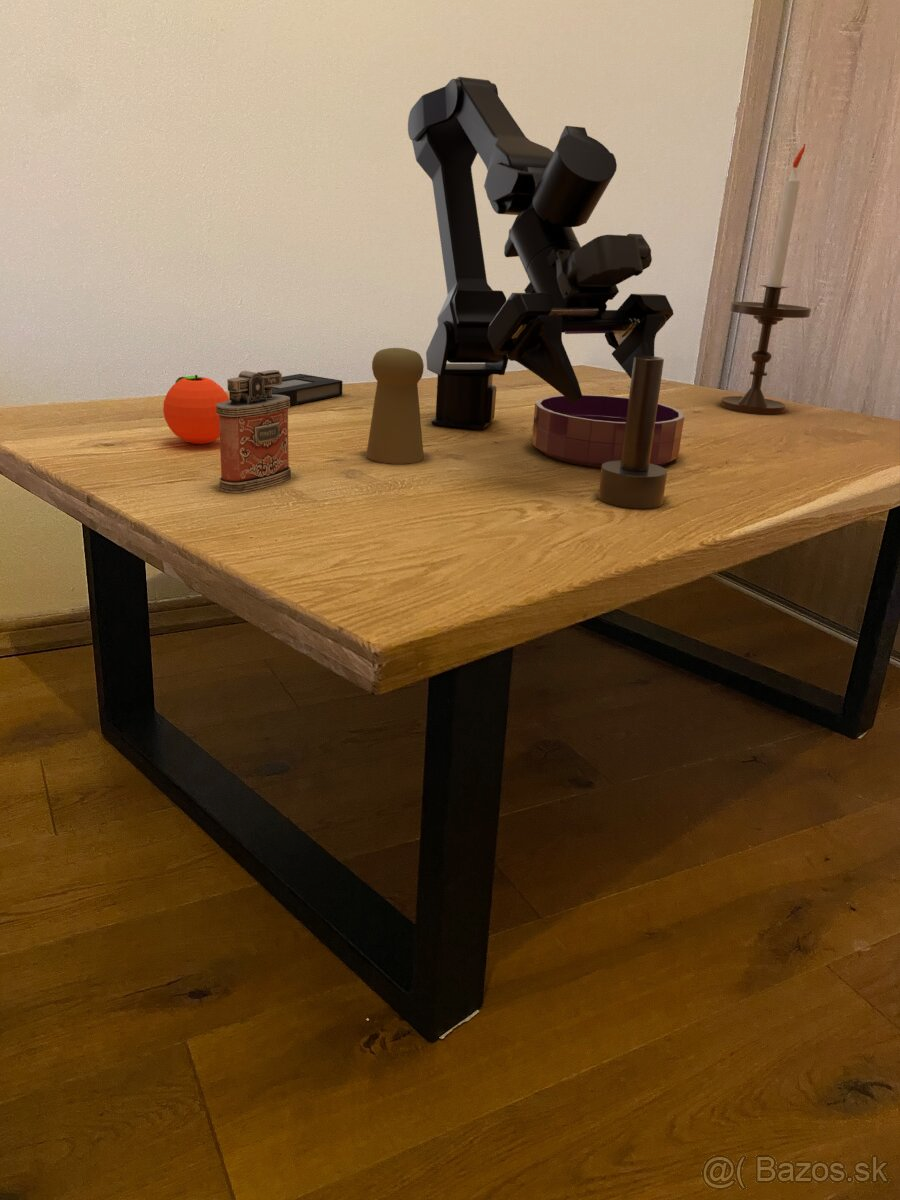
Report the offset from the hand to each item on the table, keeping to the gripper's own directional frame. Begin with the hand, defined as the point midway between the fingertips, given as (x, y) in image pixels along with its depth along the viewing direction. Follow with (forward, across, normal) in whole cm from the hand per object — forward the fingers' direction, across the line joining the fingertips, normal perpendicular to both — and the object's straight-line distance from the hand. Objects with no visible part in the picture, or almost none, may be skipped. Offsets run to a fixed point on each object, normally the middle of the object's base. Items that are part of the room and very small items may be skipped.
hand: (616, 397), depth 86 cm
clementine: (-16, -30, +29) cm, 44 cm away
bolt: (+9, 0, +4) cm, 9 cm away
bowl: (-2, +11, +15) cm, 19 cm away
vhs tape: (-30, -11, +43) cm, 54 cm away
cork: (-7, -13, +20) cm, 24 cm away
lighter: (-4, -30, +17) cm, 34 cm away
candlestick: (-12, +52, +25) cm, 59 cm away
